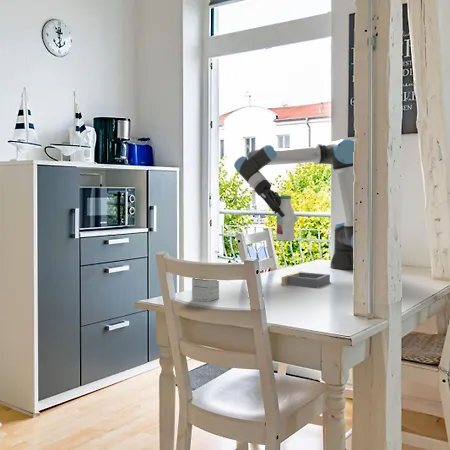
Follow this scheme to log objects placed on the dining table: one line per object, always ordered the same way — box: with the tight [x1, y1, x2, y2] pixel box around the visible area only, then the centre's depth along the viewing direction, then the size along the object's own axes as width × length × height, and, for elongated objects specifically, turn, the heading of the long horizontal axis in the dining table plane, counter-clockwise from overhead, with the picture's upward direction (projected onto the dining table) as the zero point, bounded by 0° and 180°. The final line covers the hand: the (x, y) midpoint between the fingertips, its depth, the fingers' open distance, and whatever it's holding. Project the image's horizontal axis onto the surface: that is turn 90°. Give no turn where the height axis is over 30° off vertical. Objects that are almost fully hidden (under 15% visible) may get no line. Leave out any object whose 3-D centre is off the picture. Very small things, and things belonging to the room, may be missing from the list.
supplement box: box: [191, 277, 220, 303], centre depth 201 cm, size 7×7×13 cm
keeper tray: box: [280, 270, 331, 288], centre depth 238 cm, size 20×15×3 cm
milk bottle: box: [276, 194, 295, 242], centre depth 247 cm, size 8×8×20 cm
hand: (292, 221), depth 246 cm, fingers closed on milk bottle, 7 cm apart
